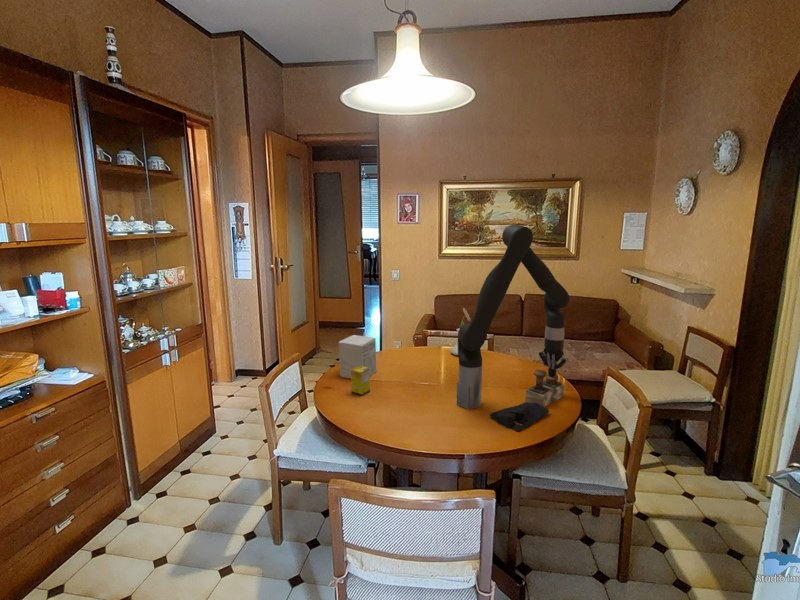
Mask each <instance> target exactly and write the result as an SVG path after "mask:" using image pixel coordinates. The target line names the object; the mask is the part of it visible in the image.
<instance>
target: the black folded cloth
mask: <svg viewBox="0 0 800 600" xmlns="http://www.w3.org/2000/svg"><path fill="white" fill-rule="evenodd" d="M549 412H550V409H549V408H546V406H545V407H543V406H541V405H540V404H538V403H529V402H527V401H525V402H522V403H520V404H518V405H513V406H509V407H506V408H502V409H500V410H497V411H493V412H491V413H490V414H489V416H490V419H491V420H493V421H494V422H496V423H497V424H498V425H501V426H503V427H504V428H506V429H510V430H512V431H516V432H522V430H524V429H526V428H529V427H530V426H532V425H533V424H534V423H536V422H537V421H540V419H542V418H543V417H544V416H545V415H547V414H548V413H549Z"/></svg>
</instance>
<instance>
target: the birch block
mask: <svg viewBox="0 0 800 600" xmlns="http://www.w3.org/2000/svg"><path fill="white" fill-rule="evenodd" d="M565 388H566V387H565V384H563V383H562V382H560V381H558V380H557V381H555V384H554V385H551V384H548V380H543V388H537V387H536V384H535V385H533V386H531V387H529V388H527V389H525V400H524V401H525V402H529V403H538V404H540V405H541V406H543V407H545V408H546V406H549V405H551V404H552V403H554V402H556V401H558V400H559V399H562V398H563V397H565Z"/></svg>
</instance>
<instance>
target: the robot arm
mask: <svg viewBox="0 0 800 600" xmlns="http://www.w3.org/2000/svg"><path fill="white" fill-rule="evenodd" d="M501 238H502V242H503V244H504V245H505V246H506V249H505V251H504V254H503V257H502V258H501V260H500V261H499V262H498V263H497V264H496V265H495V266H494V267H493V268H492V269H491V271H489V273H488V274H487V276H486V277H485V280H484V281H483V284H482V286H481V288H480V292H479V294H478V298H477V304H476V310H475V313H474V316H473V317H472V320H471V321H470V323H469V322H468V323H464V325H463V326H462V327H459V328H460V330H459V332H458V331H457V343H458V355H457V356H458V382H457V383H456V405H458V406H460V407H462V408H465V409H466V410H470V409H476V408H479V407H481V406H482V386H483V385H482V381H483V380H482V379H483V356H482V352H481V351H482V350H481V348H482V347H483V345H484V344H485V342H486V340H487V336H488V333H489V330H490V328H491V325H492V322H493V320H494V319H495V316H496V314H497V312H498V310H499V308H500V306H501V304H502V303H503V300H504V298H505V296H506V294H507V292H508V290H509V287H510V285H511V283H512V280H513V279H514V276H515V275H516V272H517V270H518V268H519V266H520V265H521V264H522V265H523V266H524V267H525V269H526V271H527V272H528V273H529V275H530V277H532V279H533V281H534V283H536V285H537V288H539V289H540V290H541V291H543V293H544V295H543V305H544V309H545V314H546V320H545V322H546V323H545V329H544V345H543V347H544V348H543V350H541V351H540V352H538V356H539V357H540V359H541V361H542V363H543V365H544V366H546V367H547V368H548V370H547V371H548V372H547V375H549V376H550V377H554V376H557V370H558V369H561V368H562V367H563V366H564V365H565V364H567V362H569V358H568V357H566V356H565V354H564V343H565V317H566V316H565V314H564V313H563V312H562V310H561V309H563V308H566V307H567V306H568V305H569V304H570V295H569V293H568V291H567V290H566V289H565V288H564V286H563V285H561V283H560V282H558V280H557V279H556V278H555V276H554V274H553V273H552V271H551V270H550V269H549V267H548V266H547V265H546V264H545V262H544V261H543V260H542V258H540V257H539V256H538V255H537V254H536V253H535V252H534V251H533V249H532V248H531V246H532V243H533V241H534V233H533V231H532V229H531V228H529V227H527V226H524V225H519V224H510V225H507V226H506V227H505V228H504V229H503V231H502V236H501Z"/></svg>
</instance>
